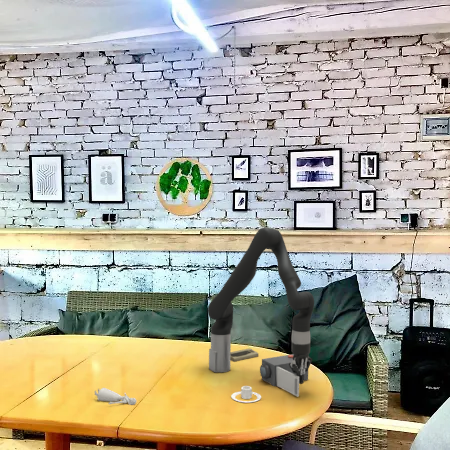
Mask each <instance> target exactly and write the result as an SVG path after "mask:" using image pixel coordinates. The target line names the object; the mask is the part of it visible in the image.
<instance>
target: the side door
mask: <svg viewBox="0 0 450 450" xmlns="http://www.w3.org/2000/svg"><path fill="white" fill-rule="evenodd" d="M275 387H278V388H280V389H283V390H284V391H285V392H288V393H290V394H291V395H293V396H295V397H299V396H300V384H299V376H297V375H295V374H293V373H291V372H288V371H286V370H284V369H282V368H280V367H278V366H276V386H275Z"/></svg>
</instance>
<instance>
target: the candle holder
mask: <svg viewBox="0 0 450 450" xmlns="http://www.w3.org/2000/svg"><path fill="white" fill-rule="evenodd" d="M252 388H253V387H251V386H249V385H243V386H241V389H240V391H235V392H234V393H232V394H231V399H232V400H234V401H236V402H239V403H246V404H247V403H255V402H258V401H260V400H261V399H262V396H261V394H260V393H257V392H254V391H253V389H252ZM253 394H254V395H253ZM239 395H240V397H241V399H244V400H241V399H240V400H239V399H237V398H236V397H237V396H239ZM255 395H256V399H255V400H250V398H251V399H252V397H253V396H255ZM245 400H248V401H245Z"/></svg>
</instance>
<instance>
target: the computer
mask: <svg viewBox="0 0 450 450" xmlns="http://www.w3.org/2000/svg"><path fill="white" fill-rule="evenodd" d="M257 357H259V353H258V351H255V350H254V349H252V348H249V347H248V348H246V349H240V350H235V351H230V362H234V363H235V362H239V361H243V360H249V359H253V358H257Z"/></svg>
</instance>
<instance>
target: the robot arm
mask: <svg viewBox="0 0 450 450" xmlns="http://www.w3.org/2000/svg"><path fill="white" fill-rule="evenodd" d="M265 250H271V251H272V253H273V254H274V256H275V259H276V263H277V272H278V276H279V279H280V280H281V283H282V284H283V287H284V288H285V289H284V290H285V294H286V299H287V303H288V305H289V307H290V308H291V310H293V311H298V313H297V314H295V315H294V316H293V317H292V327H291V328H292V331H291V352H292V354H294V355H293V361H292V363H289V366H290V368H291V369H292V371H293V373H295V374H297V376H299V385H302V384H304V383H305V381H304V374H305V372H307V371H308V372H309V368H310V366H311V364H312V361H313V358H311V357H310V356H309V354H310V353H311V331H310V329H311V318H312V314H313V311H314V307H315V298H314V296H313V294H312V293H311V292H310V291H302V292H299V291H298V289H299V288H300V287H301V286H302V281H301V279H300V277H299V275H298V273H297V272H296V269H295V268H294V266H293V264H292V261H291V258H290V255H289V252H288V250H287V247H286V243H285V240H284V237H283V234H282V233H281V232H280V231H279V230H278V229H276V228H271V227H261V228H260V229H258V231H257V232H256V233H255V235H254V236H253V239H252V240H251V242H250V243H249V246H248V248H247V249H246V252H245V253H244V254H243V255H242V258H241V259H240V260H239V262H238V264H237V265H236V267H235V268H234V269H233V271H232V272H231V274H230V275H229V277H228V278H227V280H226V282H225V283H224V284H223V286H222V288H221V289H220V291H219V292H218V293H217V294H216V295H215V296H214V298H213V299H211V301H210V303H208V304H209V305H208V307H207V314H208V317H209V318H210V319H211V320H215V321H214V323H213V324H212V326H211V328H210V348H209V349H208V350H209V351H208V354H209V355H208V369H209V371H212V372H214V373H226V372H229V371H231V360H230V352H232V351H231V350H232V349H231V347H232V346H231V345H232V344H231V341H232V339H231V338H232V337H231V336H232V335H231V334H232V333H231V331H232V328H233V323H234V322H233V320H234V306H233V303H232V301H233V300H234V299H235V298H236V297H237V296H239V295H240V294H241V293H242V292H244V291H245V289H246V288H247V287H248V286H249V285H250V284H251V283H252V281H253V280H254V277H255V276H256V274H257V270H258V269H257V268H258V262H259V259H260V257H261V255H263V253H264V252H265ZM306 366H307V367H306Z"/></svg>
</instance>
